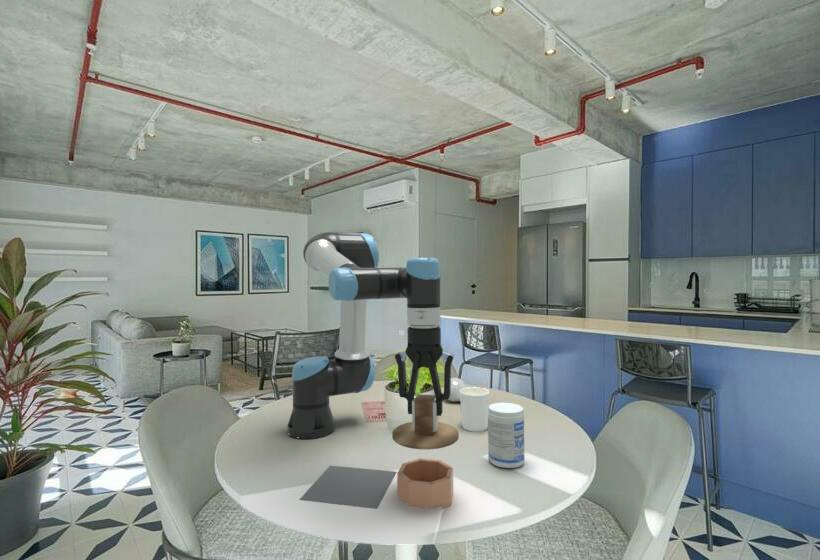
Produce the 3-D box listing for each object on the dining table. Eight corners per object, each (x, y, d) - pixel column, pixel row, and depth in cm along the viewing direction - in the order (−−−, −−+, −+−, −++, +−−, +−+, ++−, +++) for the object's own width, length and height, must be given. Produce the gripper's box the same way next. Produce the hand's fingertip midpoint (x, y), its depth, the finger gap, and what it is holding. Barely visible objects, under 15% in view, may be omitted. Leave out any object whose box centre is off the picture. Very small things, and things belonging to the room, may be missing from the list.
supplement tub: (523, 472, 108) (523, 414, 108) (486, 467, 111) (485, 411, 110) (525, 456, 117) (524, 403, 117) (490, 452, 120) (490, 400, 120)
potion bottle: (442, 402, 170) (479, 410, 167) (439, 394, 163) (478, 401, 159) (446, 381, 175) (482, 387, 171) (444, 372, 167) (482, 378, 164)
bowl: (393, 508, 92) (393, 480, 92) (406, 481, 103) (405, 457, 103) (448, 514, 89) (448, 486, 89) (455, 486, 101) (454, 461, 101)
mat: (299, 504, 94) (299, 499, 94) (330, 469, 110) (330, 465, 110) (377, 513, 90) (376, 508, 90) (396, 475, 106) (396, 471, 106)
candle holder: (488, 422, 144) (488, 387, 144) (491, 433, 134) (490, 395, 134) (459, 421, 145) (459, 386, 145) (460, 432, 135) (459, 395, 135)
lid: (384, 446, 90) (383, 405, 90) (401, 422, 105) (400, 387, 105) (454, 452, 87) (454, 409, 87) (461, 426, 102) (461, 389, 101)
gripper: (383, 327, 94) (384, 432, 94) (460, 328, 90) (461, 437, 90) (391, 323, 101) (393, 420, 101) (463, 324, 97) (464, 425, 98)
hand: (425, 428), depth 96 cm, fingers closed on lid, 4 cm apart
